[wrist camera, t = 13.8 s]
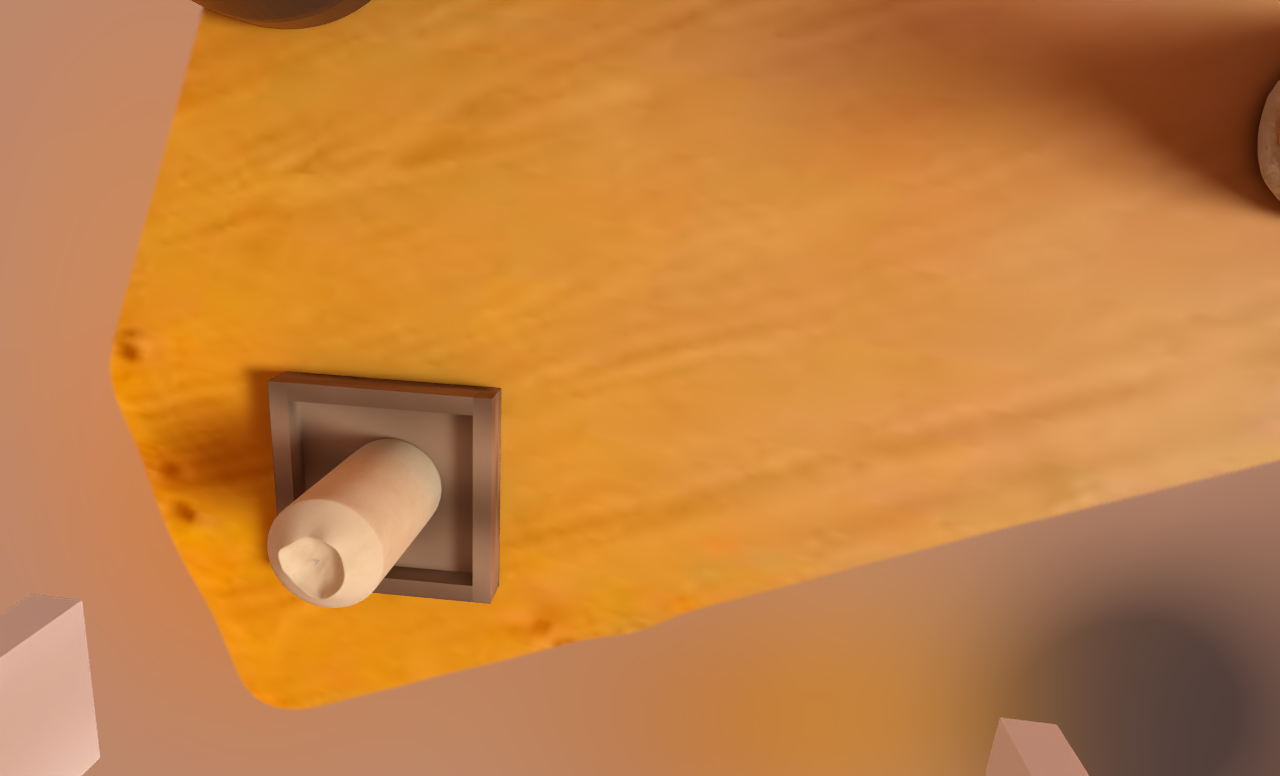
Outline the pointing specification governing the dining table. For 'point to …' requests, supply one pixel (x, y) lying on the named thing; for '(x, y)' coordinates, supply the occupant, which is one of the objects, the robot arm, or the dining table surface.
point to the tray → (434, 422)
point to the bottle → (1270, 141)
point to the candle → (354, 523)
